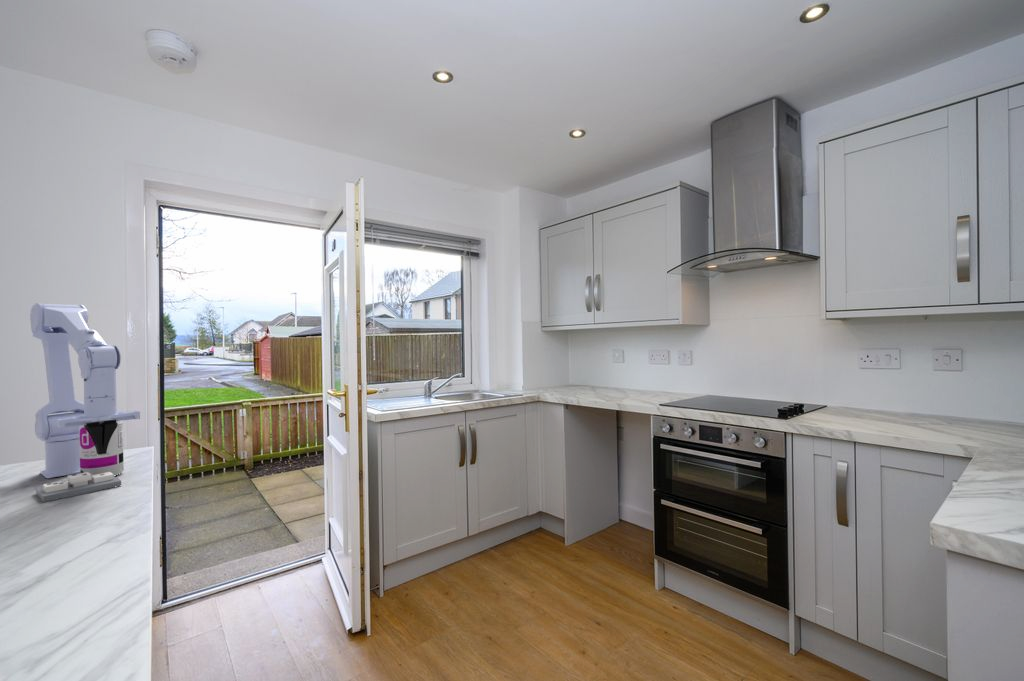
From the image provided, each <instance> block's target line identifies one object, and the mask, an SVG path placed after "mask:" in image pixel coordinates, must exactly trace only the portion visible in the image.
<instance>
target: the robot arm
mask: <svg viewBox="0 0 1024 681" xmlns="http://www.w3.org/2000/svg"><path fill="white" fill-rule="evenodd" d="M29 320H30V329H31V332H32V336H33V337H34V338H36V339H38V340H41V343H42V348H43V356H44V363H45V372H46V381H47V389H48V398H49V399H48V400H49V402H48V403H47V404H45V405H44V406H42V407H41V408H39V409H38V410H37V412H35V415H34V416H35V422H34V432H35V435H36V438H37V439H39V440H40V441H43V442H44V457H45V458H44V460H45V462H44V463H45V464H44V465H45V466H44V468H45V469H42V470H40V471H39V473H40V474H41V475H42V476H43V477H45V478H46V479H52V478H56V477H57V478H59V477H63V476H68V475H74V474H79V473H80V445H79V426H82V425H84V427H85V429H86V430H87V432H88V433H89V435H90V436H91V438H92V440H93V442H94V445H95V448H96V452H97V454H98V455H100V454H106V453H107V448H108V444H109V441H110V439H111V437H112V435H113V433H114V431H115V429H116V428H117V425H118V423H116V421H123V422H124V421H129V420H140V419H141V411H140V410H131V411H117V372H116V371H117V370H118V369H119V367H120V365H121V361H122V360H121V359H122V357H121V356H122V355H121V351H120V349H119V347H118V346H117V345H115V344H107V342H106V341H105V340H104V339H103V338H102V336H101V335H100V334H99V332H98V331H96V330H95V329H94V328H93V329H92V328H89V327H88V322H89V311H88V308H86V307H85V306H84V305H83V304H60V303H59V304H58V303H57V304H56V303H55V304H54V303H41V302H36V303H34V304H33V305H32V307H31V310H30V315H29ZM69 345H71V347H72V348H73V350H74V351H75V353H76V354H77V355H78V357H77V362H78V367H79V369H80V376H81V379H83V402H81V401H79V400H77V399H76V397H75V390H74V388H75V387H74V379H73V372H72V364H71V363H72V362H71V353H70V346H69ZM106 419H111V420H106ZM96 420H103V421H96ZM91 421H95V422H91ZM84 422H86V423H84Z"/></svg>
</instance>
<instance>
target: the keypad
mask: <svg viewBox="0 0 1024 681" xmlns="http://www.w3.org/2000/svg"><path fill="white" fill-rule="evenodd" d="M66 482H67V483H68V489H63V490H58V491H53V492H48V493H46V492H45V491H44V490H43V486H42V487H37V488H36V489H35V492H36V493H35V494H36V496H37V497H39V499H40V498H41V499H40V500H41V501H42V503H46V502H45V501H47V502H51V501H54V499H56V500H60V499H59V498H61V499H64V498H65V497H66V498H70V497H74V496H75V497H76V496H78V495H85V494H88V493H94V492H98V490H99V491H102V489H104V490H106V489H107V488H108V489H111V488H110V487H113V488H116V487H115V486H118V487H121V486H122V480H120V478H118V477H117V476H114V479H113V480H108V481H103V482H98V483H94V482H92V481H91V480H88V484H87V485H82V486H77V487H72V486H71V483H70V482H68V481H66ZM120 485H121V486H120ZM69 496H70V497H69ZM50 500H51V501H50Z"/></svg>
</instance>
